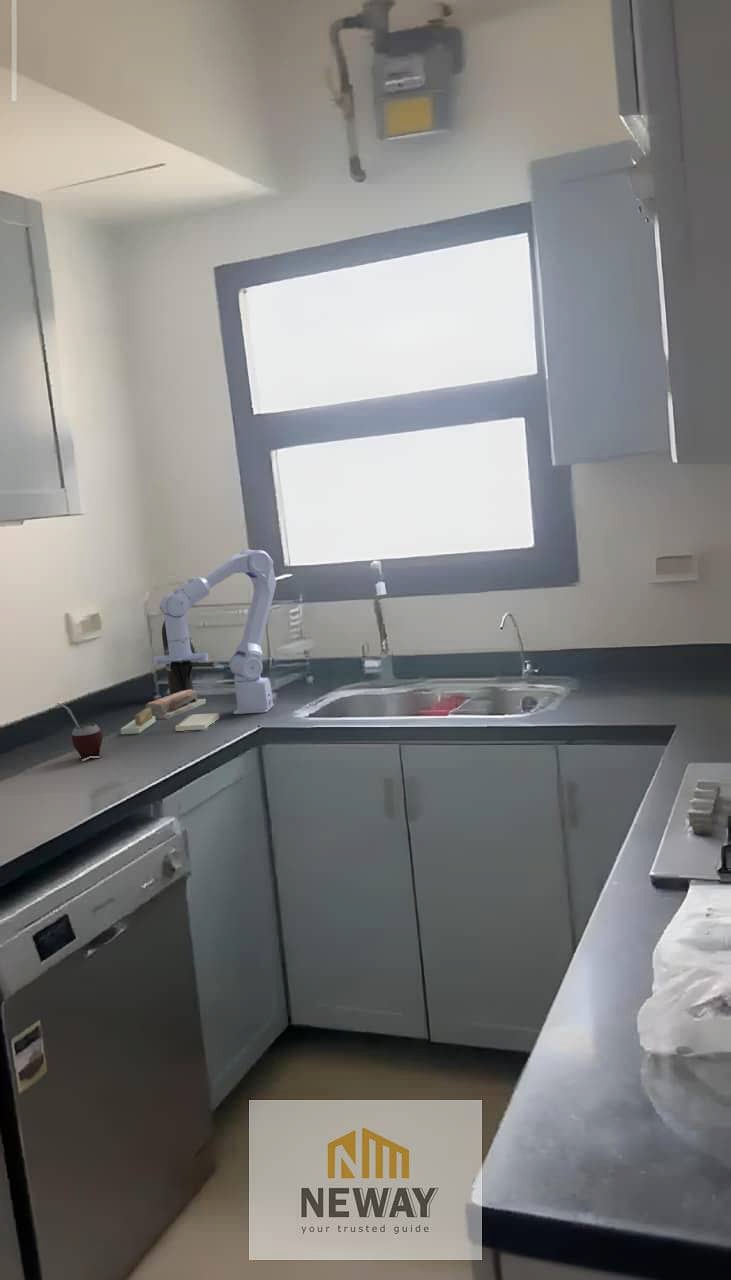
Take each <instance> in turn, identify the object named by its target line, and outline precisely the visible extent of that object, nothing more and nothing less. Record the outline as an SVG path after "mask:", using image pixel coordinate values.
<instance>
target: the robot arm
mask: <svg viewBox="0 0 731 1280" xmlns="http://www.w3.org/2000/svg"><path fill="white" fill-rule="evenodd" d="M235 574H245V575H246V576H248V577H249V578H250V580H251V581H252V583H253V584H254V586H255V587H254V591H253V596H252V599H251V603H250V606H249V611H248V615H247V619H246V622H245V627H244V631H243V635H242V639H241V642H240V643H239V644H238V645H237V646H236V649H235V652H234V654H233V655H232V656H231V657H230V659H229V663H228V666H229V670H230V671H231V673H232V674H234V678H233V679H234V680H233V683H234V688H235V689H234V691H235V696H236V697H235V698H236V705H237V709H236V710H235V711H233V714H234V715H242V714H243V715H244V714H260V713H261V714H262V713H267V712H268V711H270V709H272V707H274V705H275V704H274V699H273V692H272V685H271V680H270V679H269V677H261V674H262V672H263V668H264V667H263V666H264V665H263V651H262V648H261V646H262V642H263V638H264V635H265V631H266V630H265V629H266V626H267V623H268V618H269V614H270V610H271V607H272V603H273V598H274V595H275V591H276V587H277V580H276V576H275V570H274V560H273V559H272V558H271V556H270V555H269V553H267V551H264V550H261V549H258V550H257V549H256V550H253V549H249V548H248V549H244V550H241V551H240V552H239V553H236V554H234V555H232V556H231V557H229V559H227V560H226V561H225V562H222V564H220V565H219V566H218V567H216V568H215V569H214V570H212V571H211V572H209V573H208V574H206V575H205V576H204V577H199V576H196V577H192V576H191V577H189V578H188V580H187V581H188V582H187V583H185V584H184V585H182V586H181V587H179V588H174V589H173V593H167V594H166V595H164V596H163V597H162V598H161V600H160V605H159V609H160V611H161V613H163V617H164V621H165V626H166V634H167V641H168V648H169V655H167V656H165V655H162V656H161V655H160V656H154V657H153V659H152V660H153V665H154V666H159V665H166V664H171V666H170V669H171V671H172V672H173V673H174V675H175V676H176V678H177V680H178V682H179V685H180V687H181V690H187V689H189V679H190V674H191V675H192V670H193V667H194V664H195V662H196V663H199V662H203V663H205V662H208V661H209V659H210V658H209V653H208V652H201V653H200V652H199V653H198V652H196V653H195V652H194V653H193V652H192V648H191V642H190V634H189V627H188V626H189V625H188V620H187V612H188V610H189V608H191V607H192V606H195V605H196V604H198V602H200V601H201V600H203V599H205V598H206V597H208V596H209V595H210V592H211V588H214V586H216V585H219V583H221V582H223V581H225V580H227V579H228V578H229V577H231V576H233V575H235ZM180 660H181V661H180Z"/></svg>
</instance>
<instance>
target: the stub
mask: <svg viewBox="0 0 731 1280" xmlns="http://www.w3.org/2000/svg"><path fill="white" fill-rule="evenodd" d="M156 722H157V720H156V718H155V716H152V712H151V708H146V707H145V708H144V709H143V710H141V711H139V712H138V713H137V714H135V715H134V719H133V720H132V721H130V722H128V723H127V724H126V725H124V726H122V727H121V728H120V732H121V733H120V734H121V735H134V734H137V735H138V734H141V733H142V732H143V731H145V730H147V728H149V727H150V726H151V725H153V724H154V723H156Z"/></svg>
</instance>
